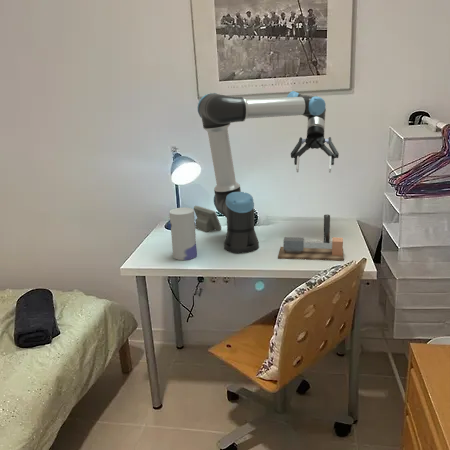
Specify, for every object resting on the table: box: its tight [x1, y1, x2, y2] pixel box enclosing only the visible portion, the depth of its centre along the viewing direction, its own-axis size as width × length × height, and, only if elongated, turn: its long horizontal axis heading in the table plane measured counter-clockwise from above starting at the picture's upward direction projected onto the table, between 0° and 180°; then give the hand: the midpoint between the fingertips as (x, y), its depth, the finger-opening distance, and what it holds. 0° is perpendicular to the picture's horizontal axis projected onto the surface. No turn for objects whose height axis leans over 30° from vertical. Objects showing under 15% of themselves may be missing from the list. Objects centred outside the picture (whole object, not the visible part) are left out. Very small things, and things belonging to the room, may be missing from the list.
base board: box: [277, 246, 345, 262], centre depth 206 cm, size 26×11×1 cm, turn 78°
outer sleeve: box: [282, 236, 305, 254], centre depth 207 cm, size 8×4×6 cm, turn 78°
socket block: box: [331, 236, 344, 256], centre depth 203 cm, size 4×5×6 cm
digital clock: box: [193, 205, 222, 233], centre depth 243 cm, size 16×9×11 cm, turn 28°
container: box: [169, 206, 198, 261], centre depth 209 cm, size 10×10×20 cm
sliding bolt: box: [303, 214, 332, 249], centre depth 203 cm, size 17×2×14 cm, turn 78°
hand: (313, 170), depth 213 cm, fingers open, 13 cm apart
